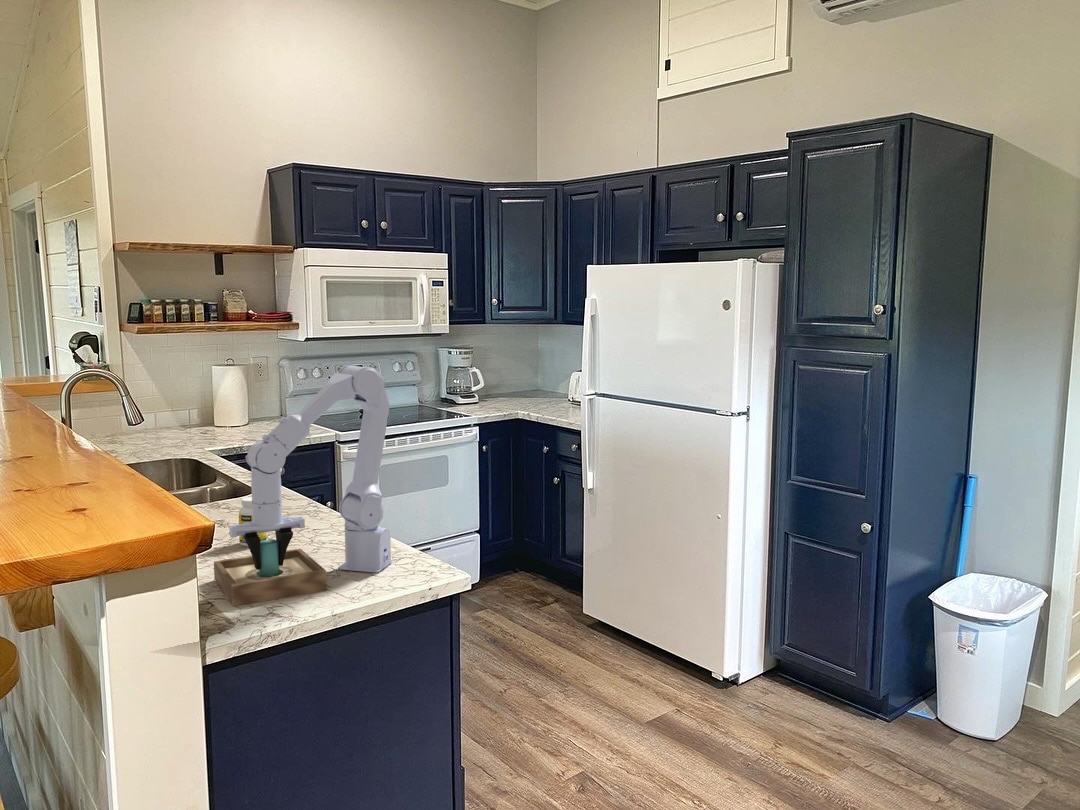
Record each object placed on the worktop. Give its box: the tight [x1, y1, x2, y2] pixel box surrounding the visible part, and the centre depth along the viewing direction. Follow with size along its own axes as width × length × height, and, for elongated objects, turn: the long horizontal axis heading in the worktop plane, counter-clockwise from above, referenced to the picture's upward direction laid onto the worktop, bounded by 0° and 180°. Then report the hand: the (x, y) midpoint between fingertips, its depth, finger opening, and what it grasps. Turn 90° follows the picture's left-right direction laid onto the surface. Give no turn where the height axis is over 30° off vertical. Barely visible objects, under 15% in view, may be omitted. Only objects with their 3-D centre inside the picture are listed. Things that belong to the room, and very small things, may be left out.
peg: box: [259, 539, 279, 577], centre depth 168 cm, size 4×4×7 cm
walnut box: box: [213, 548, 328, 607], centre depth 168 cm, size 18×18×4 cm
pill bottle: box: [238, 496, 268, 547], centre depth 197 cm, size 6×6×11 cm
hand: (269, 566), depth 168 cm, fingers closed on peg, 4 cm apart
